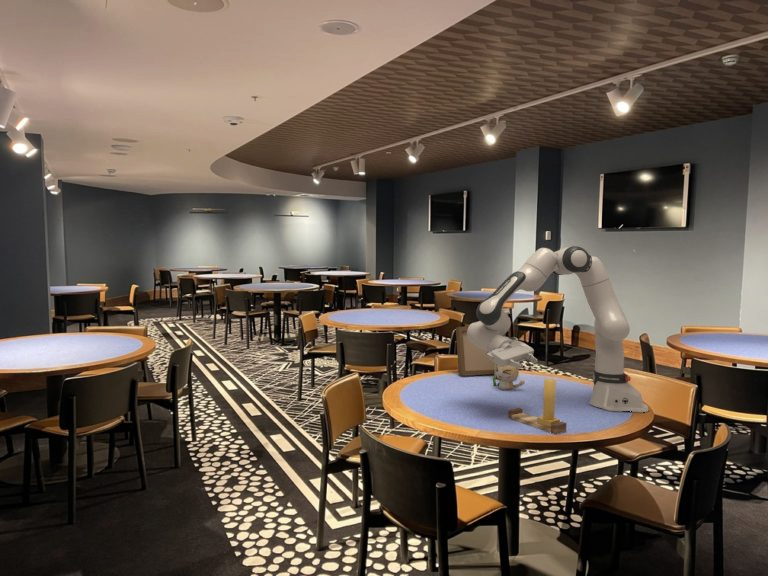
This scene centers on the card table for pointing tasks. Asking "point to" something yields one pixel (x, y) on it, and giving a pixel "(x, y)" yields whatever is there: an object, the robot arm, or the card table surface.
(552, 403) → the keeper
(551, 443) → the card table surface
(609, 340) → the robot arm
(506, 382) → the kitten
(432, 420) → the card table surface
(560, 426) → the rail
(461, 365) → the photo frame
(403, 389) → the card table surface
